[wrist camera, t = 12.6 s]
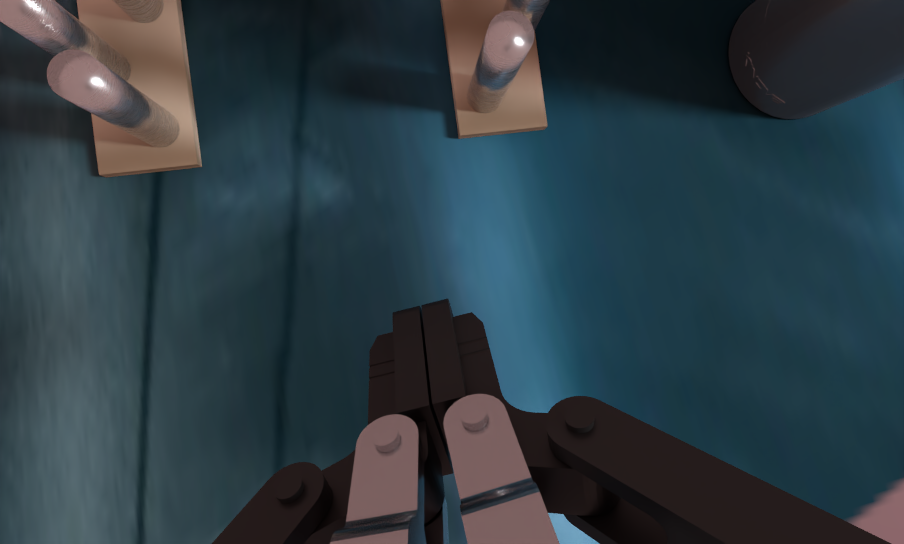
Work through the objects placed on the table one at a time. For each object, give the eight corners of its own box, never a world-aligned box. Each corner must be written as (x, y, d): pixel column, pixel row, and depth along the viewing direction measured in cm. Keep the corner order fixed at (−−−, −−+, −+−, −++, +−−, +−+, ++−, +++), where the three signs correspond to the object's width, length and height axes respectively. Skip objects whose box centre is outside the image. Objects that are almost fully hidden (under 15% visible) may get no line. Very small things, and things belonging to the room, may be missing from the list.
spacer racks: (544, 129, 37) (547, 126, 37) (106, 177, 35) (99, 174, 34) (519, -57, 37) (522, -64, 37) (80, -23, 35) (72, -30, 34)
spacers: (540, 107, 37) (584, 50, 28) (101, 153, 34) (-7, 107, 25) (520, -45, 37) (558, -150, 28) (80, -10, 34) (-35, -114, 25)
